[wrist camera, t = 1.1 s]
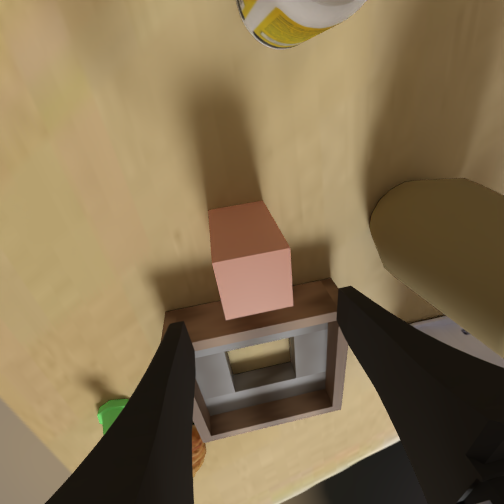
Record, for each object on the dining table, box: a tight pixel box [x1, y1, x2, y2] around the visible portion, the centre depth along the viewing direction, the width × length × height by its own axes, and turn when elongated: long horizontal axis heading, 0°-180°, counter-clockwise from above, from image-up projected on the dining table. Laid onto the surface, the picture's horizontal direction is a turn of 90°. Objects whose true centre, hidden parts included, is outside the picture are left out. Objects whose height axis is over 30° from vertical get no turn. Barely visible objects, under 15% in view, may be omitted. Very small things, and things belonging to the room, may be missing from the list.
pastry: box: [192, 425, 206, 477], centre depth 33 cm, size 9×7×4 cm
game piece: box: [97, 399, 129, 434], centre depth 27 cm, size 4×4×6 cm
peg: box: [208, 201, 293, 320], centre depth 17 cm, size 4×4×7 cm
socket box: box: [161, 278, 348, 443], centre depth 26 cm, size 15×15×4 cm
